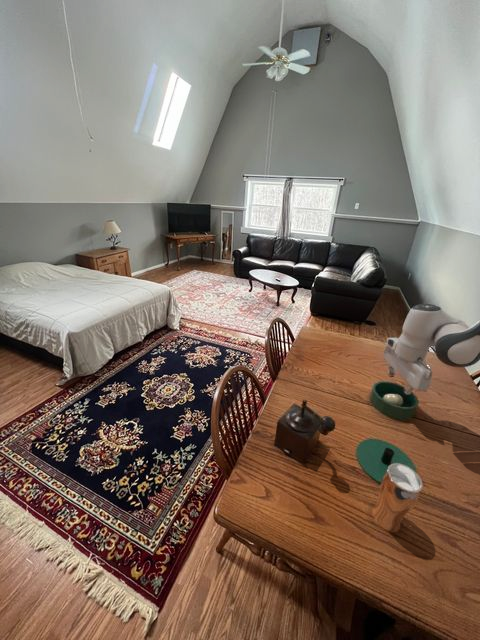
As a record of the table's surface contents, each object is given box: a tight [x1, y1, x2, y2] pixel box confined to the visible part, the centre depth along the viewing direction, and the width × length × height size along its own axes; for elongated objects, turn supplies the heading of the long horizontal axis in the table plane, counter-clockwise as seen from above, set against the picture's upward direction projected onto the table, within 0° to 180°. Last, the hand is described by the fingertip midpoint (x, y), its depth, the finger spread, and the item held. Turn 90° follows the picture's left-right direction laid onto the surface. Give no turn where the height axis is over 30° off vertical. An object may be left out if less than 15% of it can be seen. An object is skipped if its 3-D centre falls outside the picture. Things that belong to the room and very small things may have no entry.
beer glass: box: [371, 463, 424, 533], centre depth 60 cm, size 7×7×15 cm
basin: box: [369, 380, 420, 421], centre depth 97 cm, size 15×15×6 cm
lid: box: [355, 438, 418, 485], centre depth 75 cm, size 16×16×5 cm
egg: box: [383, 394, 403, 407], centre depth 98 cm, size 7×4×4 cm, turn 94°
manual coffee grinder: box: [273, 399, 336, 464], centre depth 76 cm, size 16×11×18 cm
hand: (398, 384), depth 95 cm, fingers open, 8 cm apart
